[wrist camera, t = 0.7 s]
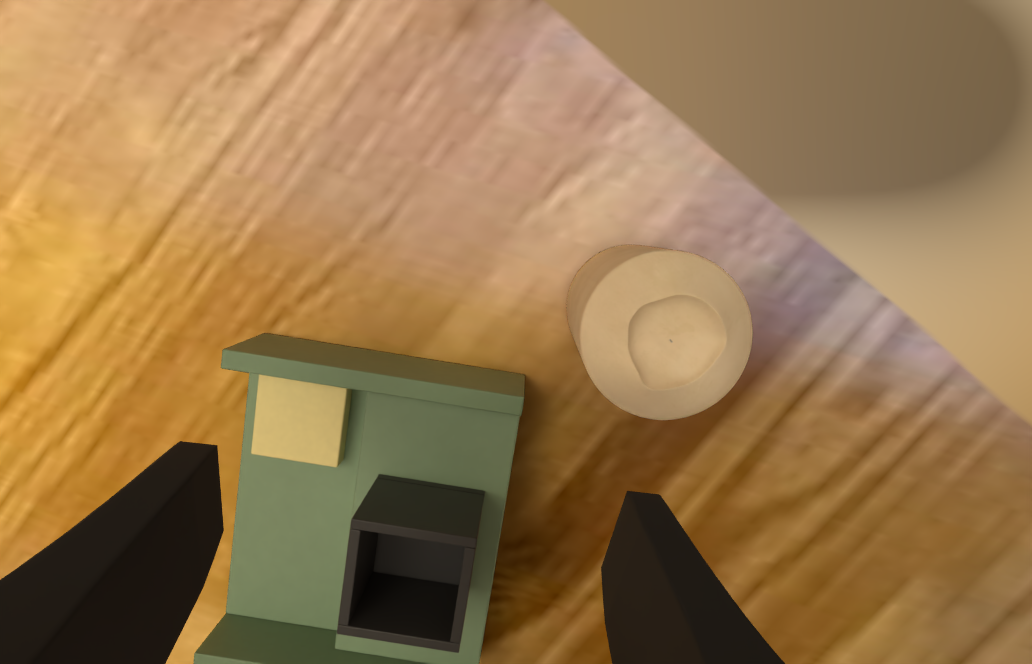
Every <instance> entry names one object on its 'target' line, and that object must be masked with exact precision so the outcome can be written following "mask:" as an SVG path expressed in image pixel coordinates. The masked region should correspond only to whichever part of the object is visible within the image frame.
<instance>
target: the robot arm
mask: <svg viewBox="0 0 1032 664" xmlns="http://www.w3.org/2000/svg"><path fill="white" fill-rule="evenodd" d="M223 531H224V528H223V515H222V502H221V489H220V476H219V463H218V450H217V445H209V444H200V443H191V442H182V441H180V442H179V443H177V444H176V445H174V446H173V447H172V448H171V449H169V450H168V451H167V452H166V453H164V454H163V455H162V456H161V457H160V458H158V459H157V460H156V461H155V462H154V463H152V464H151V465H150V466H149V467H148V468H146V469H145V470H144V471H143V472H142V473H140V474H139V475H138V476H137V477H135V478H134V479H133V480H132V481H131V482H129V483H128V484H127V485H126V486H125V487H123V488H122V489H121V490H120V491H118V492H117V493H116V494H115V495H113V496H112V497H111V498H110V499H109V500H107V501H106V502H105V503H103V504H102V505H101V506H100V507H98V508H97V509H96V510H94V511H93V512H92V513H91V514H89V515H88V516H87V517H86V518H84V519H83V520H82V521H80V522H79V523H78V524H77V525H75V526H74V527H73V528H72V529H70V530H69V531H68V532H66V533H65V534H64V535H62V536H61V537H60V538H58V539H57V540H56V541H54V542H53V543H51V544H50V545H49V546H47V547H46V548H44V549H43V550H42V551H40V552H39V553H37V554H36V555H35V556H33V557H32V558H31V559H29V560H28V561H26V562H25V563H24V564H22V565H21V566H19V567H18V568H17V569H15V570H14V571H13V572H11V573H10V574H8V575H7V576H5V577H4V578H2V579H1V580H0V664H165V663H166V661H167V659H168V657H169V655H170V653H171V651H172V649H173V647H174V645H175V643H176V641H177V639H178V637H179V635H180V633H181V631H182V629H183V627H184V625H185V623H186V621H187V619H188V617H189V615H190V613H191V611H192V609H193V607H194V605H195V603H196V601H197V599H198V597H199V595H200V593H201V591H202V589H203V587H204V584H205V581H206V578H207V576H208V573H209V570H210V568H211V565H212V562H213V560H214V557H215V554H216V551H217V548H218V545H219V542H220V539H221V537H222V534H223ZM601 571H602V588H603V603H604V616H605V625H606V631H607V637H608V642H609V648H610V653H611V658H612V664H785V663H784V662H783V661H782V660H781V659H780V657H779V656H778V655H777V654H776V653H775V652H774V650H773V649H772V648H771V647H770V646H769V644H768V643H767V642H766V641H765V640H764V638H763V637H762V636H761V635H760V633H759V632H758V631H757V630H756V628H755V627H754V626H753V625H752V624H751V622H750V621H749V620H748V618H747V617H746V616H745V615H744V613H743V612H742V611H741V609H740V608H739V607H738V605H737V604H736V603H735V601H734V600H733V599H732V597H731V596H730V595H729V593H728V592H727V591H726V589H725V588H724V586H723V585H722V584H721V582H720V581H719V580H718V578H717V577H716V576H715V574H714V573H713V571H712V570H711V569H710V567H709V566H708V564H707V563H706V562H705V560H704V559H703V557H702V556H701V554H700V553H699V551H698V550H697V548H696V547H695V546H694V544H693V543H692V541H691V540H690V538H689V537H688V535H687V534H686V532H685V531H684V529H683V528H682V526H681V525H680V523H679V522H678V520H677V519H676V517H675V516H674V514H673V513H672V512H671V510H670V509H669V507H668V506H667V504H666V503H665V501H664V500H663V498H662V497H661V496H660V495H659V494H650V493H641V492H632V491H627V493H626V496H625V499H624V502H623V505H622V508H621V511H620V514H619V517H618V520H617V523H616V526H615V529H614V532H613V534H612V537H611V540H610V543H609V546H608V549H607V552H606V555H605V558H604V561H603V564H602V567H601Z"/></svg>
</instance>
